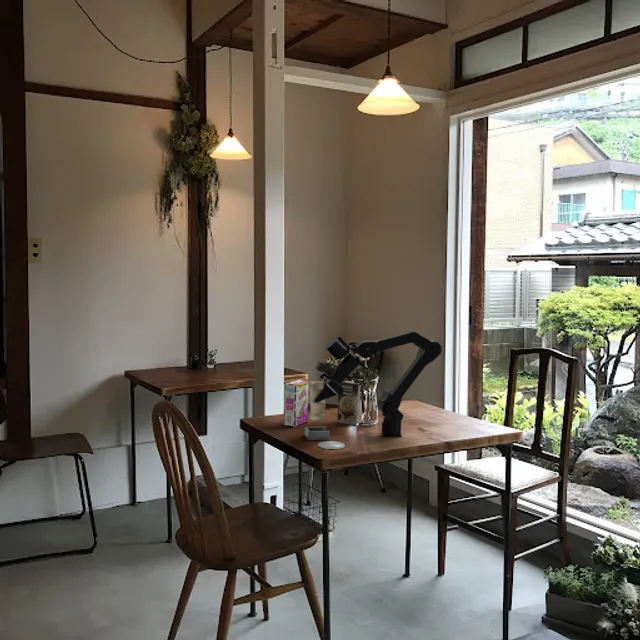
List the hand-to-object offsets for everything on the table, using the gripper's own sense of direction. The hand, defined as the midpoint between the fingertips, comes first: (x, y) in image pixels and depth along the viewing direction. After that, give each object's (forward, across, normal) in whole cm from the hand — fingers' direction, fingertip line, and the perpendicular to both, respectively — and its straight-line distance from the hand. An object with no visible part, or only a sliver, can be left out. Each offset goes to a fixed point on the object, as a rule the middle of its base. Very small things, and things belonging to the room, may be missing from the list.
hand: (313, 400), depth 257 cm
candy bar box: (+11, -23, +8) cm, 27 cm away
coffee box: (-4, -23, +23) cm, 33 cm away
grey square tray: (+9, -1, +10) cm, 14 cm away
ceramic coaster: (+7, +12, +12) cm, 18 cm away
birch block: (+4, 0, +6) cm, 7 cm away
